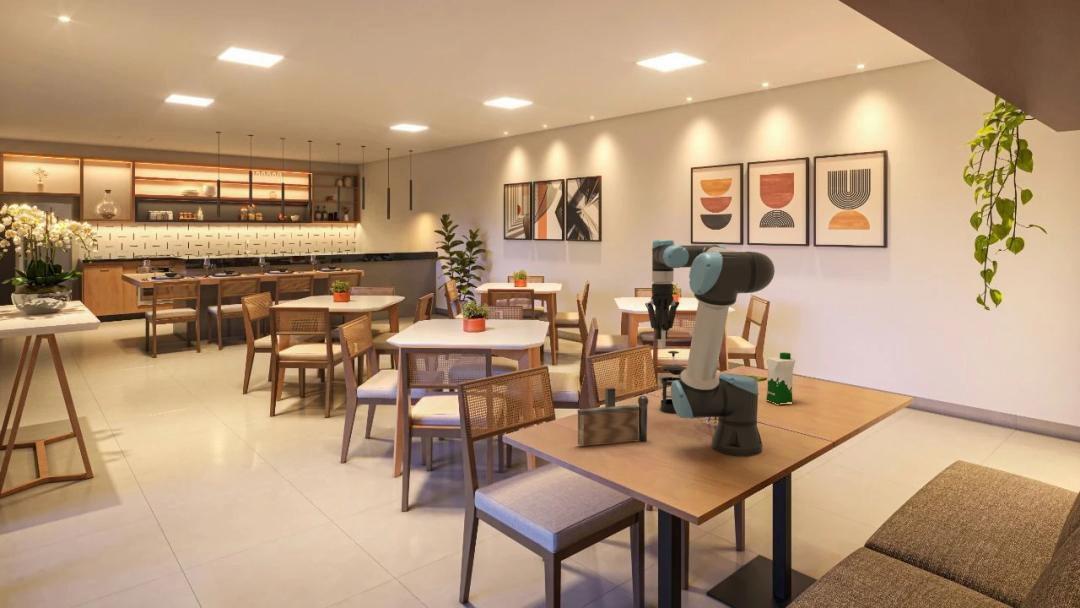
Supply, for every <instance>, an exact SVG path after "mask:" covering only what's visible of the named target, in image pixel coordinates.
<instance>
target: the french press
mask: <svg viewBox="0 0 1080 608" xmlns="http://www.w3.org/2000/svg"><path fill="white" fill-rule="evenodd" d="M667 353H668V354H671V357H672V364H666V365H662V366H660V368H661V371H662V373H664V372H669V373H670V374H671V375H672V377H671V376H668V377H662V378H661V379H660V383H661V384H662V392H661V395H662V400H660V408H659V409H660V412H661V413H664V414H665V413H666V414H670V415H671V414H672V415H674V414H677V413H676V411H675V409H674V406H673V402H672V397H671V390H670V391H667V386H670V387H671V384H672V382H673V381H676V380H678V381H679V380H680V377H674V376H679V375H681V372H682V371H683V370H685V369H686V367H685V366H684V365H680V364H679V365H678V364H674V362H675V355H676V354H679V353H680V352H679V351H677V350H670V351H667ZM677 415H678V414H677Z"/></svg>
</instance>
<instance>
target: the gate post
mask: <svg viewBox="0 0 1080 608" xmlns="http://www.w3.org/2000/svg"><path fill="white" fill-rule="evenodd" d="M637 403H638V406H639V410H638V440H637V441H638V442H641V443H645V442H648V404H649V398H648V397H647V396H645V395H640V396H639V397H638V399H637Z"/></svg>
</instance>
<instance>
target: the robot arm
mask: <svg viewBox="0 0 1080 608" xmlns="http://www.w3.org/2000/svg"><path fill="white" fill-rule="evenodd" d="M674 242H675V241H674V240H673V239H654V240H653V241H652V248H651V255H652V256H651V257H652V258H651V260H652V261H651V262H652V263H651V264H652V265H651V274H652V275H651V282H653V283H651V298H650V300H649V301H648V302H645V304H644V306H645V308H647V313H648V318H649V322H650V328H651V329H653V330H655V331H656V332H655V338H656V340H657V348H659V349H661V350H663V349H666V340H667V339H668V331H670V329H673V326H674V322H675V318H676V313H677V309H678V307H679V305H680V302H679V301H676V300H675V298H674V297H673V294H674V284H673V282H674V272H675V271H674V269H680V268H690V271H689V275H688V278H689V282H688V283H689V288H690V290H691V292H692V293H693V294H694V299H696V301H698V303H697V307H696V313H695V318H694V319H695V321H694V323H693V324H694V326H693V331H692V337H691V343H690V349H689V353H688V361H687V365H686V368H685V369H684V370H683V371H682V372H681V375H680V376H679V378H680V380H679V381H678V380H676V381H673V382H672V381H671V382H672V384H671V386H670V391H671V397H672V398H671V399H672V402H673V406H674V409H675V411H676V413H677V416H678V417H679V418H681V419H692V420H693V419H702V418H704V419H705V418H717V420H718V421H717V424H716V428H715V430H714V434H713V436H712V438H711V447H712V448H713V449H714V450H715V451H717V452H719V453H722V454H725V455H731V456H737V457H738V456H739V457H740V456H741V457H742V456H743V457H747V456H748V457H749V456H756V455H758V454H761V453H762V452H763V441H762V439H761V434H760V431H759V428H758V407H759V406H758V405H759V404H758V403H759V394H760V393H759V384H758V381H757V380H756V379H754V377H750V376H747V375H744V374H738V373H733V372H732V373H729V372H723V373H719V375H718V376H717V369H718V364H719V358H720V353H721V349H722V344H723V340H724V339H723V338H724V334H725V329H726V324H727V320H728V318H727V317H728V314H729V310H730V307H731V306H733V305H735V303H736V302H737V297H738V294H751V293H756V292H757V293H758V292H760V291H762V290H764V289H765V288H767V287H768V286H769V285H770V284H771V282H772V280H774V276H775V265H774V263H773V261H772V259H770V257H769V256H767V255H766V254H763V253H761V252H758V251H757V252H756V251H735V250H732V249H727V248H726V247H725V246H724V245H720V244H709V245H708V244H707V245H702V244H701V245H700V244H699V245H697V244H695V245H691V244H690V245H687V244H685V245H682V244H681V245H679V244H678V245H677V244H675V243H674Z"/></svg>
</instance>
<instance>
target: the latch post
mask: <svg viewBox="0 0 1080 608" xmlns="http://www.w3.org/2000/svg"><path fill="white" fill-rule="evenodd" d="M604 391H605V392H604V403H605V404H604V407H615V406H616V388H615V387H613V386H612V387H605V389H604Z"/></svg>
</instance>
